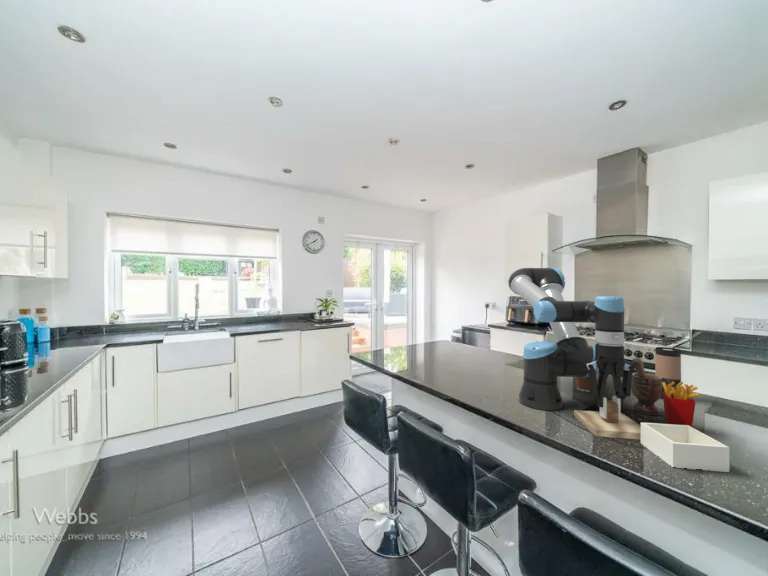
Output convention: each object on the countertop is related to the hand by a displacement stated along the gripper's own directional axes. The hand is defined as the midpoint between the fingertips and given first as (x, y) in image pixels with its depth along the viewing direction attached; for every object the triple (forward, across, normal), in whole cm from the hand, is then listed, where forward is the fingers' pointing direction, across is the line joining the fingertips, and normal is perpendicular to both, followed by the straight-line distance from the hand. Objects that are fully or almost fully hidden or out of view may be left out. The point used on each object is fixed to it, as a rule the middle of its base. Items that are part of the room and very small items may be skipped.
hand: (609, 417), depth 98 cm
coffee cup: (+3, +10, +38) cm, 40 cm away
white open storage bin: (+3, +9, -16) cm, 18 cm away
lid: (+3, 0, 0) cm, 3 cm away
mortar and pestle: (+3, +19, +14) cm, 24 cm away
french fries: (+3, +22, +2) cm, 22 cm away
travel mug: (+3, +38, +32) cm, 50 cm away
